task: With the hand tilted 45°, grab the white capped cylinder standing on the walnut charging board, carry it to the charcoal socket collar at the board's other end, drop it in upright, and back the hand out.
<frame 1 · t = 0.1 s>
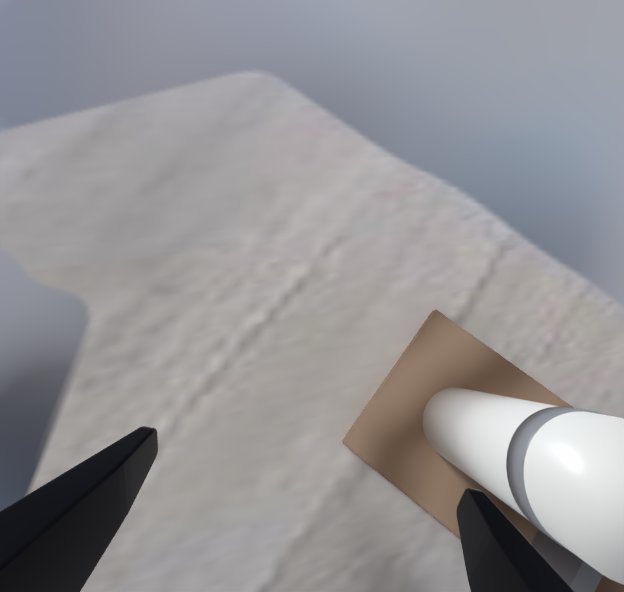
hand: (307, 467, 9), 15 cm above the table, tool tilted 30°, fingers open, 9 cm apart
white capped cylinder: (457, 423, 23), point 1 cm above the table, touching charging board
charging board: (527, 478, 23), on the table
socket collar: (618, 546, 21), resting on charging board
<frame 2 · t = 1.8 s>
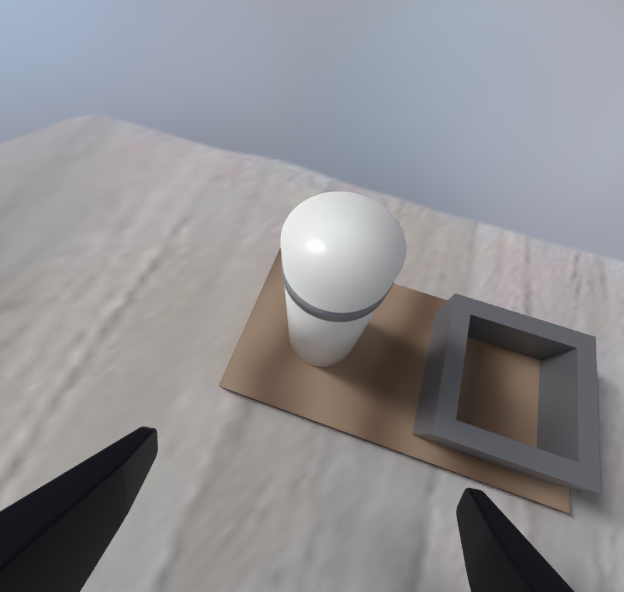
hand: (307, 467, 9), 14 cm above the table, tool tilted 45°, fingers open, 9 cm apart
white capped cylinder: (322, 333, 24), point 1 cm above the table, touching charging board
charging board: (400, 363, 24), on the table
socket collar: (488, 389, 23), resting on charging board
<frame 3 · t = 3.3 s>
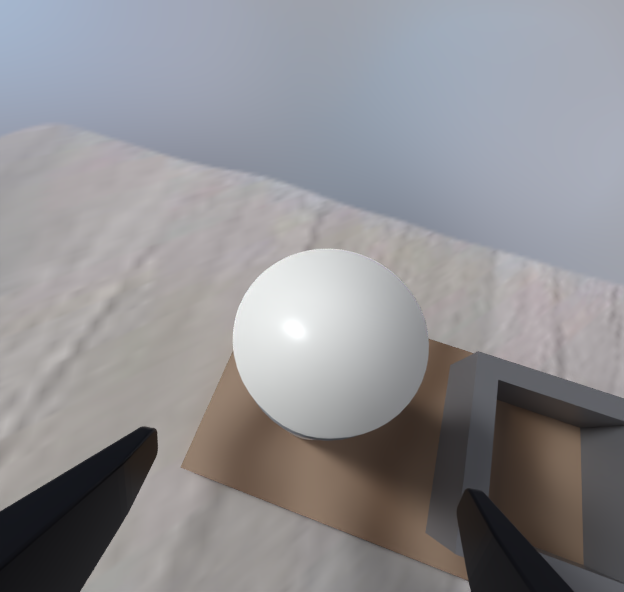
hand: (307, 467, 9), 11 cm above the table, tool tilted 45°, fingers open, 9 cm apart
white capped cylinder: (312, 395, 19), point 1 cm above the table, touching charging board
charging board: (408, 431, 20), on the table
socket collar: (519, 468, 18), resting on charging board
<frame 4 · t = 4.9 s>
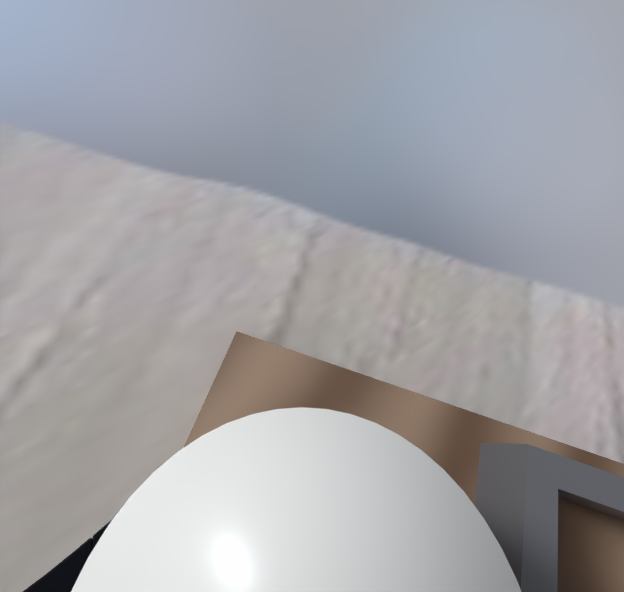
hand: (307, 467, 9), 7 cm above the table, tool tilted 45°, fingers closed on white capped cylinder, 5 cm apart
white capped cylinder: (297, 489, 15), point 1 cm above the table, touching charging board, gripper
charging board: (426, 536, 15), on the table
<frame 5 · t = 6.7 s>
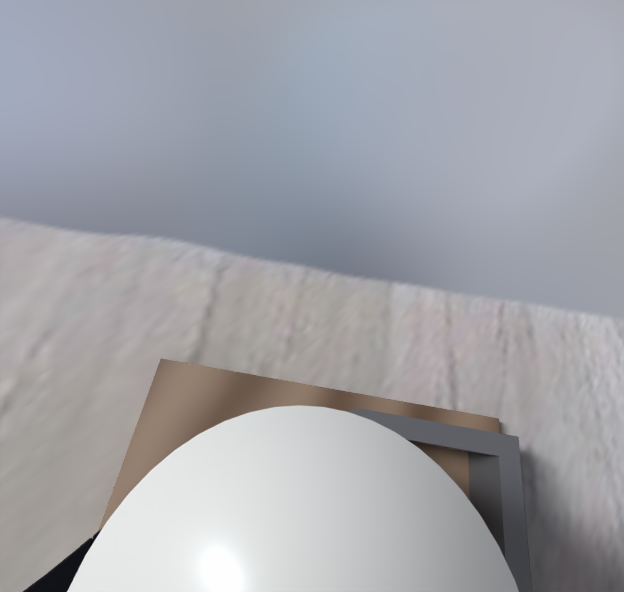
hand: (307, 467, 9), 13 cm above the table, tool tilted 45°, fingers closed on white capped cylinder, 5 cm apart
white capped cylinder: (297, 488, 15), point 7 cm above the table, touching gripper
charging board: (312, 483, 21), on the table
socket collar: (413, 504, 20), resting on charging board
when the fingers open (9 cm above the table, at t = 8.7 s): white capped cylinder drops 1 cm, resting on charging board.
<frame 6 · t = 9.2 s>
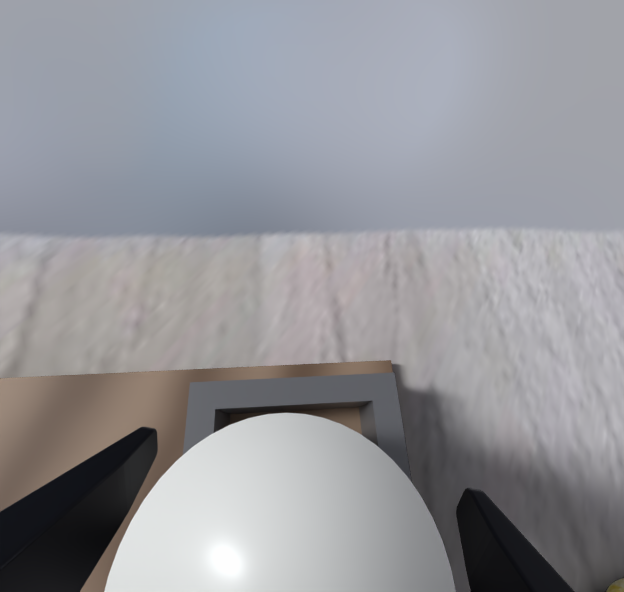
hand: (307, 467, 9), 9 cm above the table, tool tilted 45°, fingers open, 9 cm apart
white capped cylinder: (297, 487, 16), point 1 cm above the table, touching charging board
charging board: (174, 490, 16), on the table
socket collar: (297, 484, 16), resting on charging board
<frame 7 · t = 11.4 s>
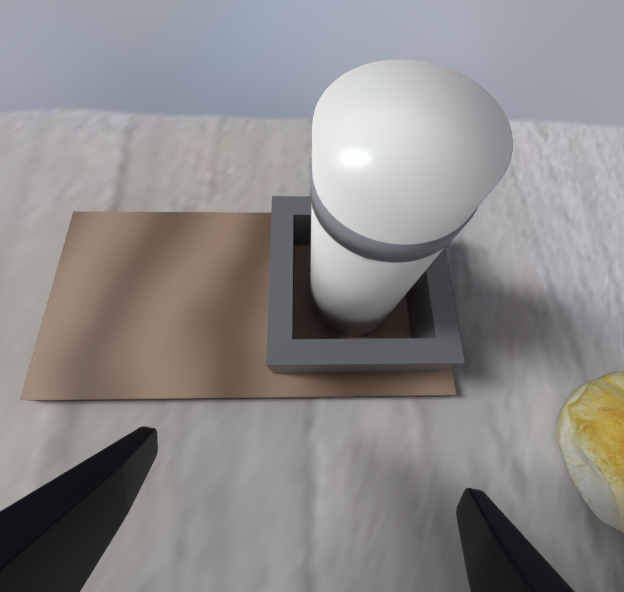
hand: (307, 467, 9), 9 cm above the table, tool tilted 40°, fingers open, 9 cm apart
white capped cylinder: (350, 296, 20), point 1 cm above the table, touching charging board
charging board: (250, 299, 20), on the table
socket collar: (350, 295, 20), resting on charging board
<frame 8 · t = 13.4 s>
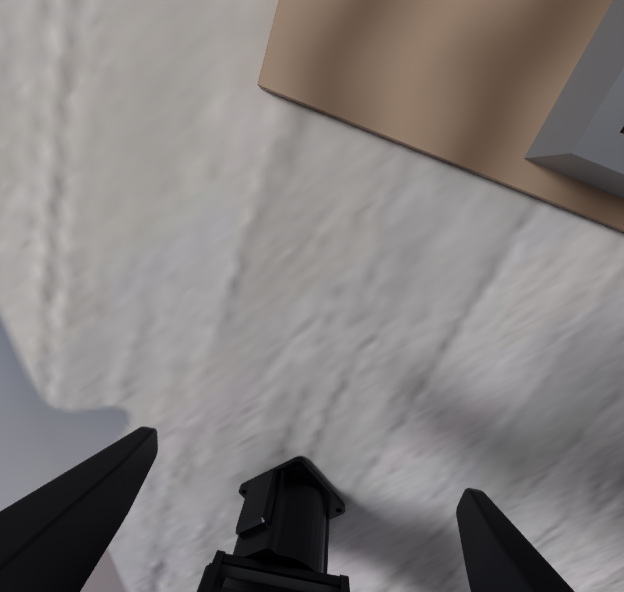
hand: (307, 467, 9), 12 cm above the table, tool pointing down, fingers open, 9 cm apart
charging board: (541, 43, 15), on the table
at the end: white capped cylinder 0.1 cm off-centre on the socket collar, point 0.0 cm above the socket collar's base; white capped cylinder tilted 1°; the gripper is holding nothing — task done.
